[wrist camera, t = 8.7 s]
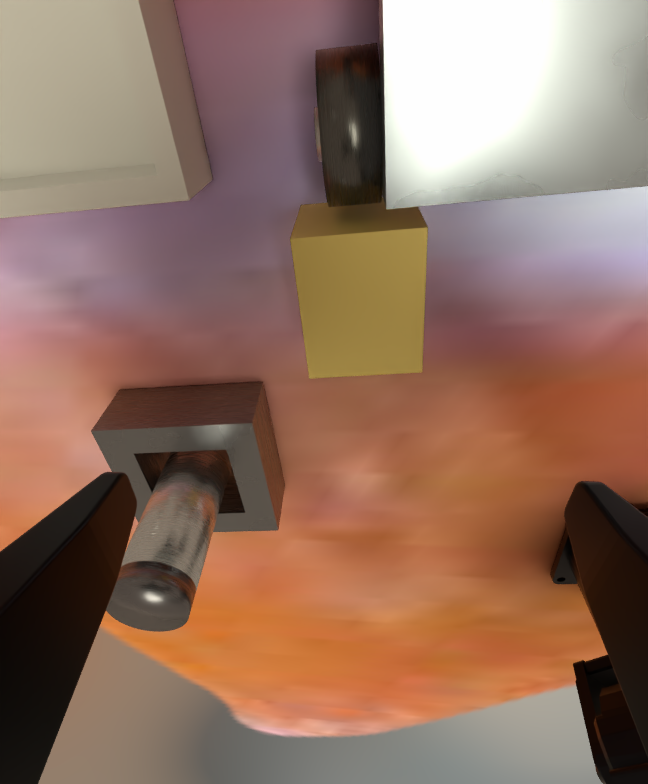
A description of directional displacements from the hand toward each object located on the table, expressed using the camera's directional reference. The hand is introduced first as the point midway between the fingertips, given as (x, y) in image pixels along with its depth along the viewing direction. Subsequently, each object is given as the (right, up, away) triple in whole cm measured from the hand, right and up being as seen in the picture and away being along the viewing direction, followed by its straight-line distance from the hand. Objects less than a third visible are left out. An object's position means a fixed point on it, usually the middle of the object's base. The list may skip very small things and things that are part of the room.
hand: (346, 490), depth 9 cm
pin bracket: (-6, -1, +14) cm, 16 cm away
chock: (+1, +7, +9) cm, 11 cm away
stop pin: (-6, -1, +14) cm, 16 cm away
